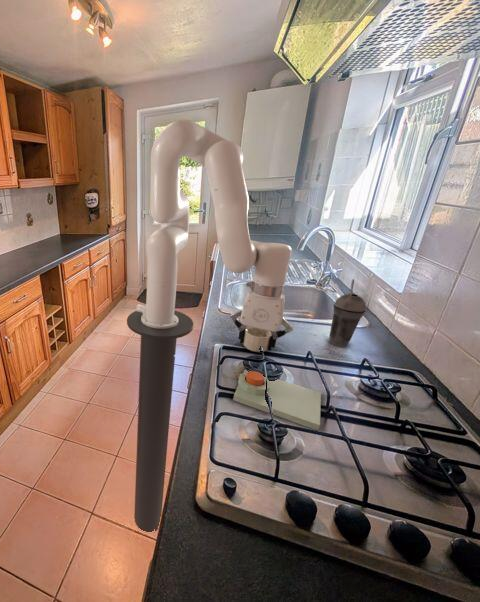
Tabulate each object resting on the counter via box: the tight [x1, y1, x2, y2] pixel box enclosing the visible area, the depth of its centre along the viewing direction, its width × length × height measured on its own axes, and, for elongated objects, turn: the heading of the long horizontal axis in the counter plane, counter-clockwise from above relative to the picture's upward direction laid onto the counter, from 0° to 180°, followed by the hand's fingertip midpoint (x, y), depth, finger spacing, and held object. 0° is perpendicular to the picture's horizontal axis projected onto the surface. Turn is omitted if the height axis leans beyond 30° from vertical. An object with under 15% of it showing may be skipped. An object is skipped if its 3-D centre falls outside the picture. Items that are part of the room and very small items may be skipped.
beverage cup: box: [328, 278, 367, 348], centre depth 87 cm, size 7×7×20 cm
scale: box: [232, 369, 322, 431], centre depth 68 cm, size 16×12×3 cm
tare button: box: [246, 370, 264, 386], centre depth 70 cm, size 4×4×2 cm
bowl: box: [242, 326, 272, 353], centre depth 88 cm, size 7×7×5 cm
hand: (255, 344), depth 89 cm, fingers closed on bowl, 6 cm apart
